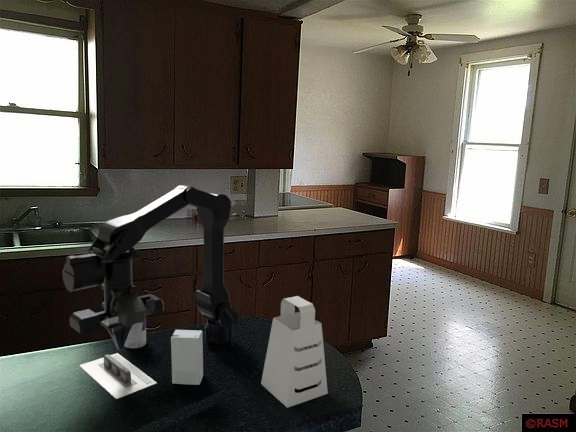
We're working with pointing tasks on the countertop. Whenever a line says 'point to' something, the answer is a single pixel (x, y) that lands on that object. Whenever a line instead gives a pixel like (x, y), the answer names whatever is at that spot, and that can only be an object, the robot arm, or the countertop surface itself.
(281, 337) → the grater
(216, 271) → the robot arm
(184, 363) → the skincare box
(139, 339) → the energy drink
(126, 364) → the breaker panel
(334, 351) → the countertop surface
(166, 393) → the countertop surface
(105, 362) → the breaker paddles
